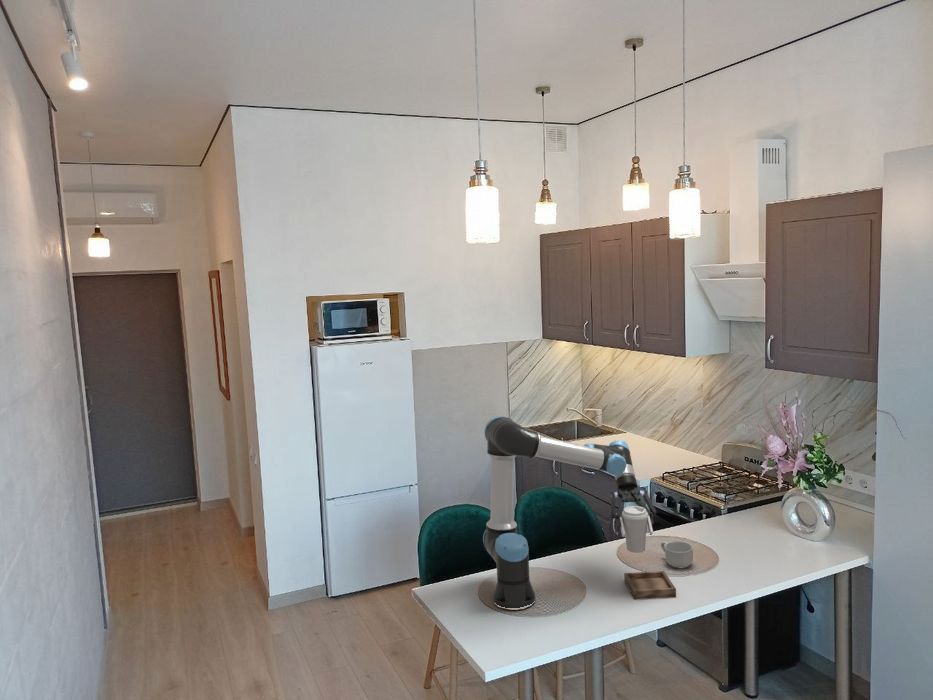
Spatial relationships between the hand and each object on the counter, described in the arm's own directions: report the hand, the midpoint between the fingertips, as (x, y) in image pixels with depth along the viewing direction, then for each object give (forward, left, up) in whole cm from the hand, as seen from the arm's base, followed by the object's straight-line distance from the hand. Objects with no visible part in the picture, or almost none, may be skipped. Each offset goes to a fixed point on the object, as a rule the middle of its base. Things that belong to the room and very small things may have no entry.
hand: (637, 534), depth 250 cm
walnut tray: (+4, +2, -22) cm, 22 cm away
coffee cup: (0, +3, -7) cm, 8 cm away
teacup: (+20, +22, -22) cm, 37 cm away
